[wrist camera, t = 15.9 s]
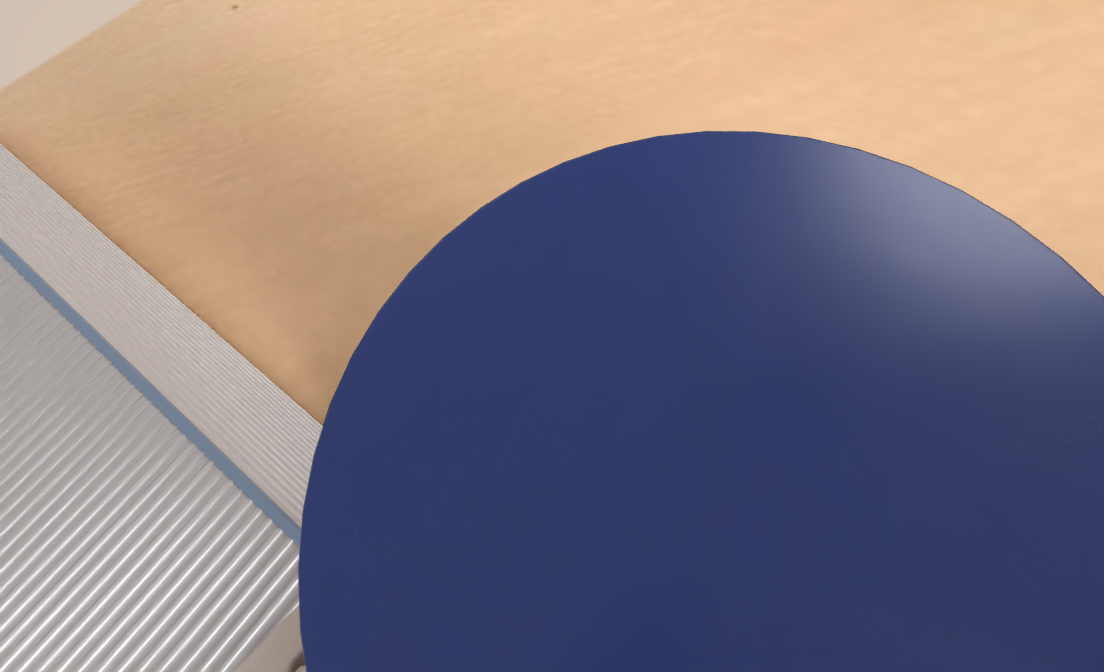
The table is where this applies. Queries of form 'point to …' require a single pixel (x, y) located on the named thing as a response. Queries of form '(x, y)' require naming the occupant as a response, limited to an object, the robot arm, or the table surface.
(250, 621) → the warehouse
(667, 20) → the table surface
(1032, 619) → the jam lid
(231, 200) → the table surface
